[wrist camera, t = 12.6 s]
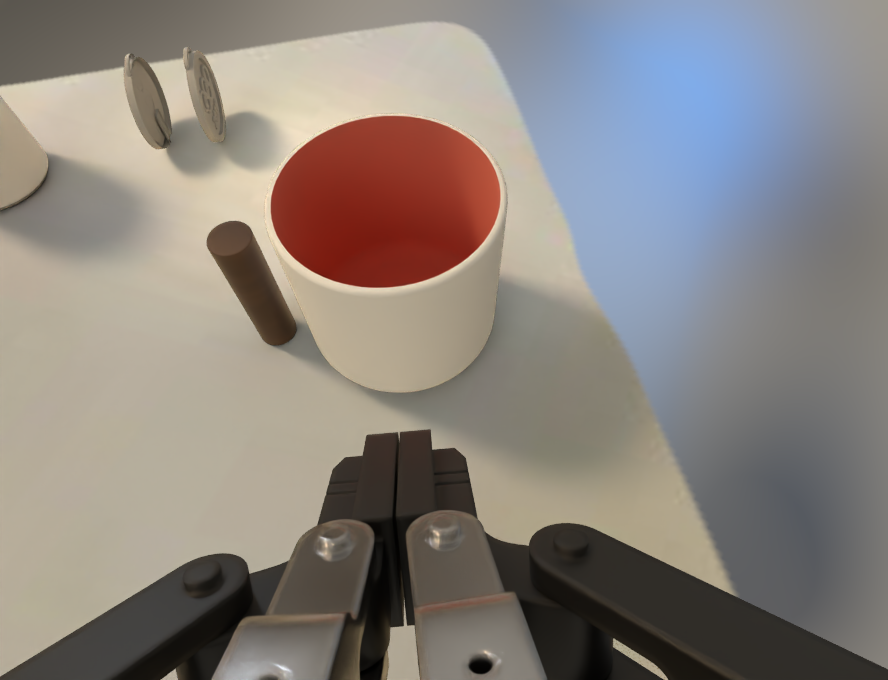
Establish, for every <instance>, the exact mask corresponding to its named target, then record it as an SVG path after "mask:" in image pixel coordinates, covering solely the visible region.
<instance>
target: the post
mask: <svg viewBox="0 0 888 680" xmlns="http://www.w3.org/2000/svg"><path fill="white" fill-rule="evenodd" d="M207 247H208V249H209V251H210V253H211V254H212V256H213V257H214V259H215V261H216V262H217V264H218V266H219V267H220V269H221V271H222V272H223V274H224V276H225V277H226V279H227V281H228V282H229V284H230V286H231V287H232V289H233V291H234V292H235V294H236V296H237V297H238V299H239V301H240V302H241V304H242V306H243V307H244V309H245V311H246V312H247V314H248V316H249V317H250V319H251V321H252V322H253V324H254V326H255V327H256V329H257V331H258V332H259V334H260V336H261V337H262V339H263V340H264V341H265V342H266V343H268V344H271V345H282V344H285V343H287V342H288V341H290V340H291V339H292V338H293V336H294V335H295V332H296V323H295V321H294V319H293V317H292V314H291V312H290V310H289V308H288V306H287V304H286V302H285V300H284V298H283V296H282V293H281V291H280V289H279V287H278V285H277V283H276V281H275V279H274V277H273V274H272V272H271V270H270V268H269V266H268V264H267V262H266V260H265V258H264V255H263V253H262V251H261V249H260V247H259V245H258V243H257V241H256V239H255V237H254V234H253V232H252V230H251V229H250V227H249V226H248V225H246V224H245V223H242V222H239V221H229V222H224V223H222V224H220V225H218V226H216V227H215V228H214V229H213V230H212V231H211V232H210V233H209V235H208V238H207Z"/></svg>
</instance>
